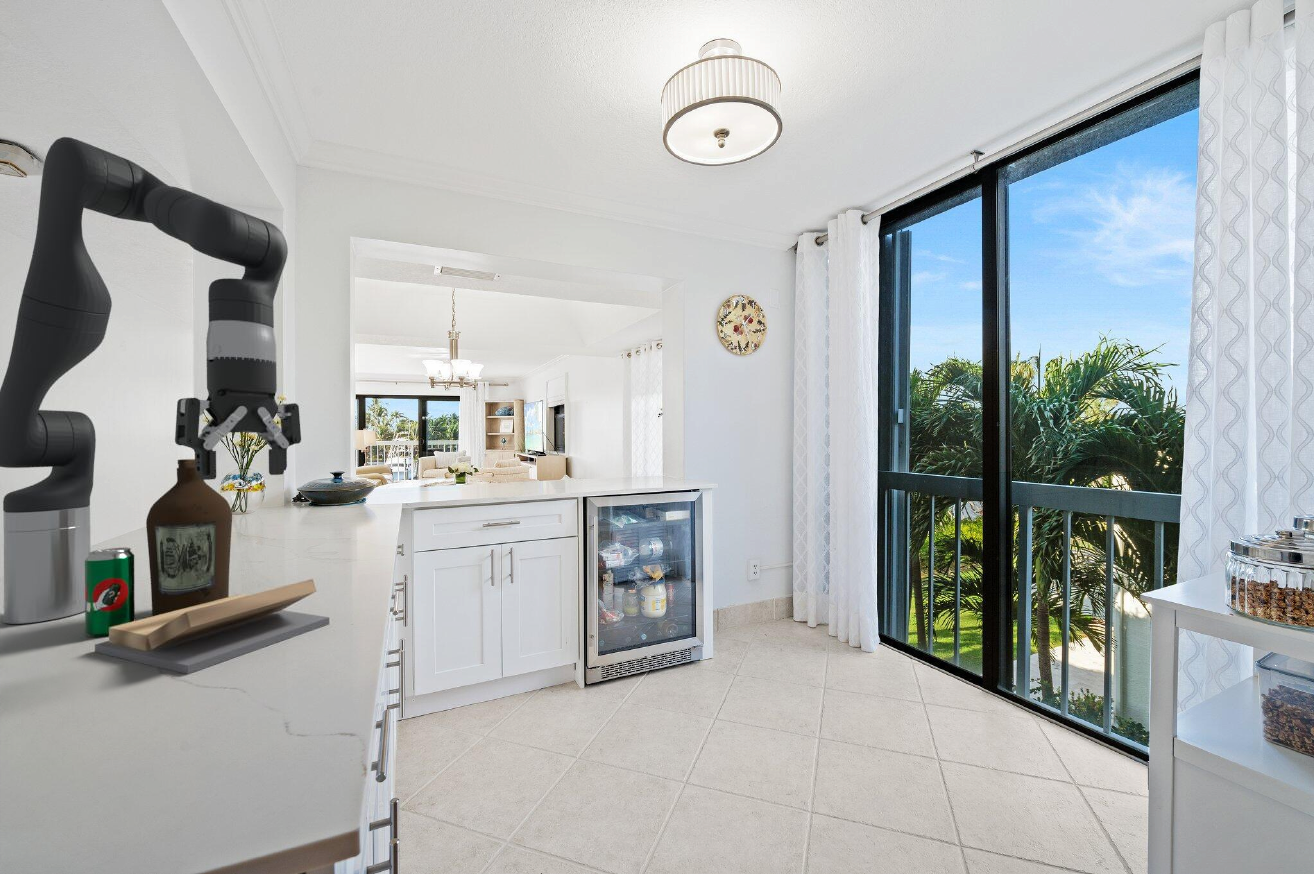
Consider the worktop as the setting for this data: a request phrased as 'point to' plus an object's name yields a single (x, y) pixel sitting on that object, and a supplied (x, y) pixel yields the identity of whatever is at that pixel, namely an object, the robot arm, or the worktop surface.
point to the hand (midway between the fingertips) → (243, 477)
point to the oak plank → (150, 626)
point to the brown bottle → (188, 544)
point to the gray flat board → (220, 642)
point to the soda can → (109, 590)
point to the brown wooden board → (229, 613)
